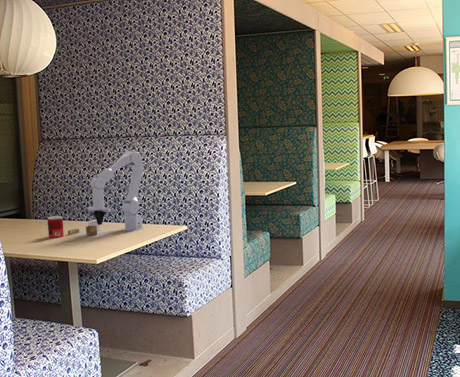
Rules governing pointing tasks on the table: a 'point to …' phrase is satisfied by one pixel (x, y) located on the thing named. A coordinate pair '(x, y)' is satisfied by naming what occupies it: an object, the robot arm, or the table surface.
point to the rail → (73, 231)
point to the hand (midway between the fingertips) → (99, 224)
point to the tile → (94, 224)
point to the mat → (83, 233)
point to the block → (91, 230)
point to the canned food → (55, 227)
